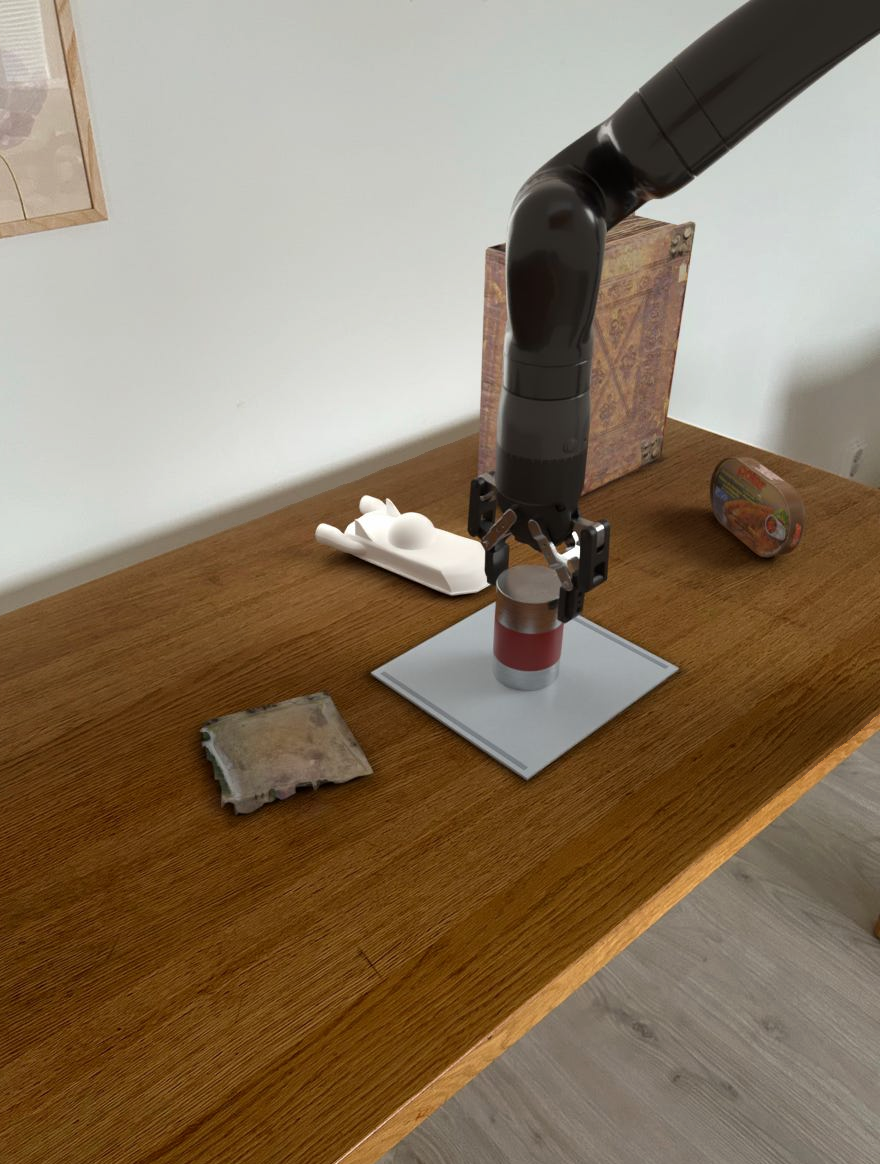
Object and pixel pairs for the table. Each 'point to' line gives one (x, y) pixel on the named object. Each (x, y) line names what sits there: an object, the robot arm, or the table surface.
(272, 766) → the parchment
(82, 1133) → the table surface
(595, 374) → the book
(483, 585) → the white toy spaceship
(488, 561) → the robot arm
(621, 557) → the table surface
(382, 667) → the square board
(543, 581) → the can
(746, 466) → the tin
